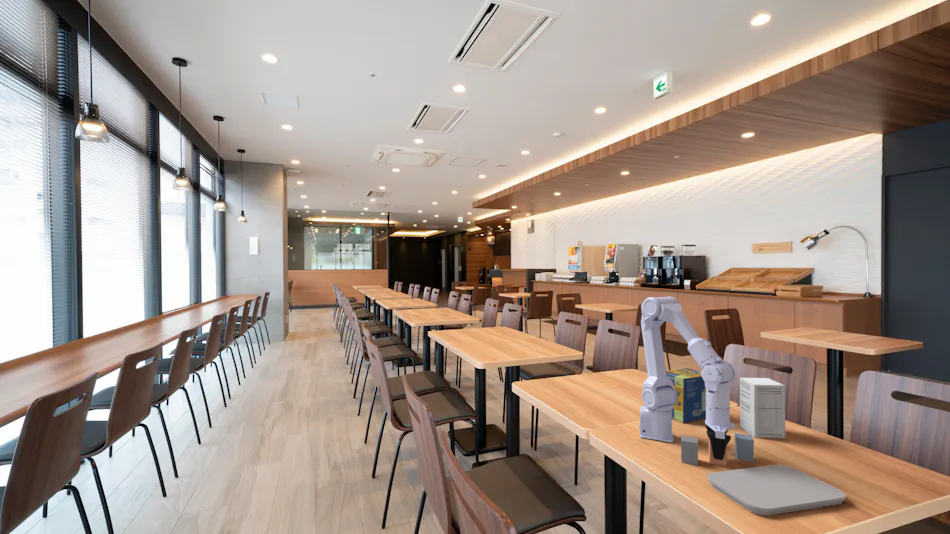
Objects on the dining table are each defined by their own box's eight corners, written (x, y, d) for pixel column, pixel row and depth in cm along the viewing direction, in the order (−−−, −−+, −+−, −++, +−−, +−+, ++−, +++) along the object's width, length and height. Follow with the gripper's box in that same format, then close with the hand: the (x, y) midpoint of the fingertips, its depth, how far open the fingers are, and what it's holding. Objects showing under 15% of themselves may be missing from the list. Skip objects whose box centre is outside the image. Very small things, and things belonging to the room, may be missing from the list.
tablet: (701, 483, 105) (701, 473, 105) (785, 472, 111) (785, 463, 111) (758, 521, 89) (758, 510, 89) (853, 506, 95) (853, 496, 95)
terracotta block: (709, 463, 115) (709, 441, 115) (708, 457, 119) (708, 435, 119) (726, 466, 113) (726, 443, 114) (725, 460, 117) (725, 438, 117)
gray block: (681, 462, 115) (681, 440, 115) (681, 456, 119) (681, 435, 119) (697, 465, 114) (698, 443, 114) (697, 459, 117) (697, 438, 117)
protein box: (658, 414, 154) (658, 371, 154) (687, 408, 161) (687, 367, 161) (683, 423, 145) (683, 378, 145) (713, 417, 151) (713, 374, 151)
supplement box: (769, 428, 141) (769, 377, 141) (786, 439, 132) (786, 385, 132) (738, 426, 142) (738, 376, 142) (754, 437, 133) (754, 384, 133)
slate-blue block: (736, 459, 118) (736, 437, 118) (734, 453, 121) (734, 432, 121) (753, 462, 116) (753, 440, 116) (751, 456, 120) (751, 435, 120)
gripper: (738, 416, 108) (738, 469, 108) (731, 400, 121) (731, 448, 121) (706, 412, 111) (706, 464, 111) (703, 397, 124) (703, 443, 124)
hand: (717, 455), depth 116 cm, fingers closed on terracotta block, 4 cm apart
